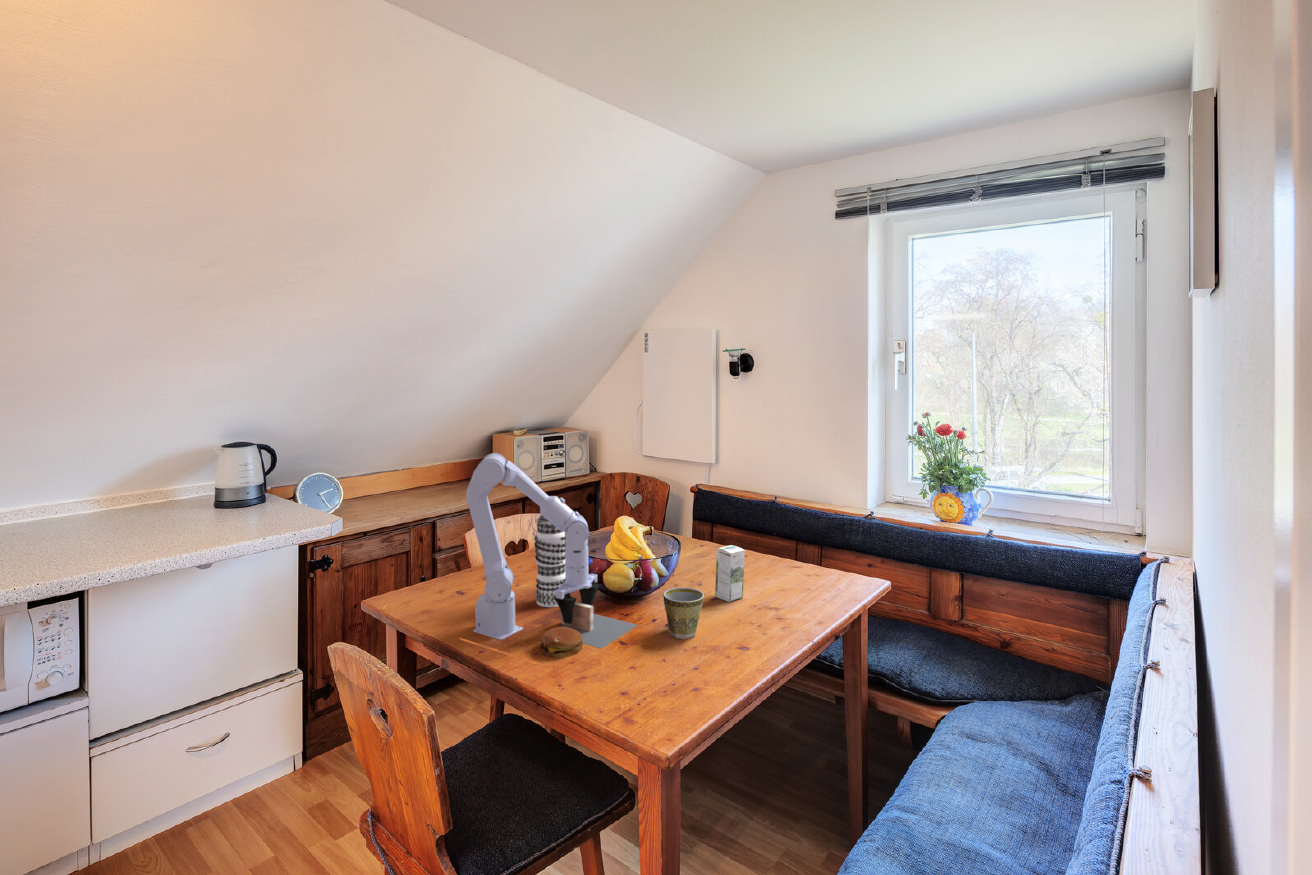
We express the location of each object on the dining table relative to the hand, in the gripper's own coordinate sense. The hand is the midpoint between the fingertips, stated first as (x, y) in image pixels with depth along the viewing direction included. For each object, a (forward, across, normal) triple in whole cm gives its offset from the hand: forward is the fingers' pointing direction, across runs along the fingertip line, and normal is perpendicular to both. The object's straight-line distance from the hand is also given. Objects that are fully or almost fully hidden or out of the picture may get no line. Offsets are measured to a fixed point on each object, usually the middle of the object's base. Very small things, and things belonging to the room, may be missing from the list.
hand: (577, 617), depth 168 cm
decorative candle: (+3, +10, +17) cm, 20 cm away
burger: (+3, -12, -5) cm, 13 cm away
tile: (+2, 0, 0) cm, 2 cm away
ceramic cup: (+3, +13, -23) cm, 27 cm away
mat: (+3, +1, -4) cm, 5 cm away
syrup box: (+3, +40, -23) cm, 46 cm away
